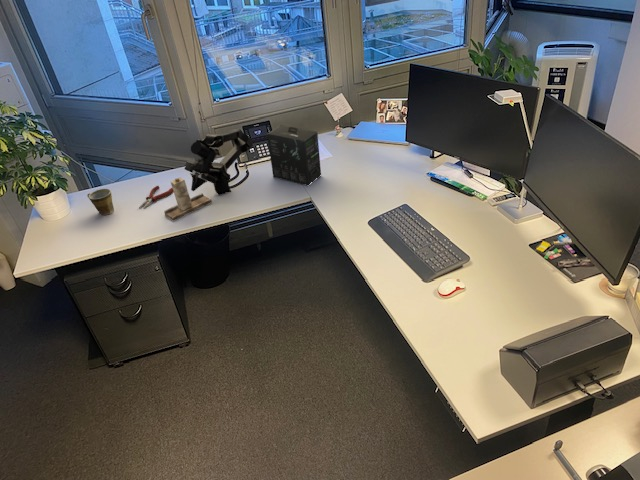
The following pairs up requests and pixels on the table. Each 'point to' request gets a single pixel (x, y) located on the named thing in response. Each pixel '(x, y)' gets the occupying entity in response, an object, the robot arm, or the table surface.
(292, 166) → the headset box
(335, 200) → the table surface
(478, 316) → the table surface
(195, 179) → the robot arm
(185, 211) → the board
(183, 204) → the beige boxy piece
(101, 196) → the ceramic cup
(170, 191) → the pliers
